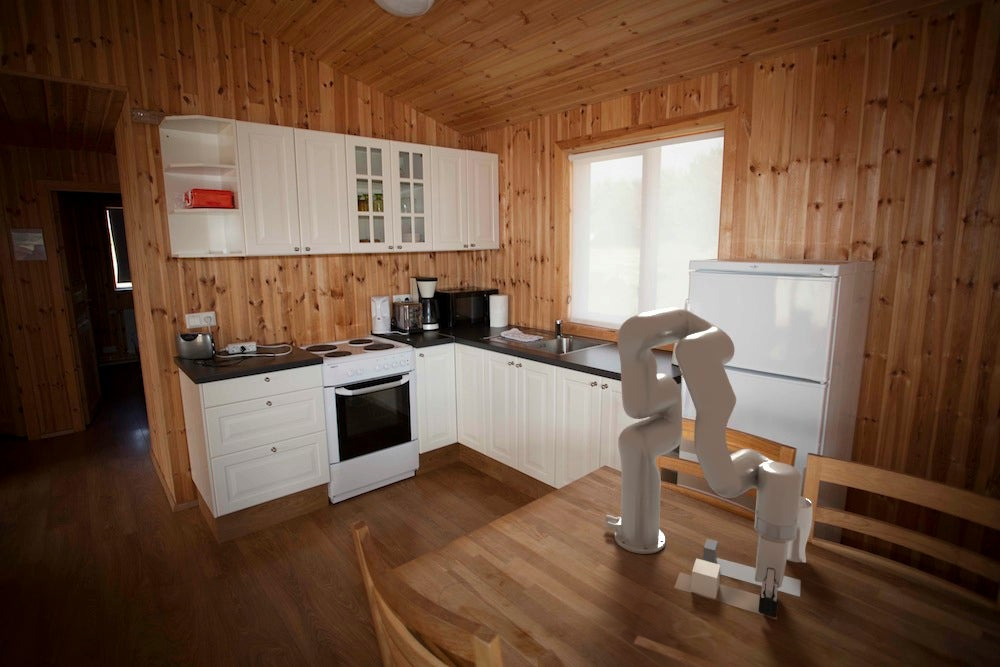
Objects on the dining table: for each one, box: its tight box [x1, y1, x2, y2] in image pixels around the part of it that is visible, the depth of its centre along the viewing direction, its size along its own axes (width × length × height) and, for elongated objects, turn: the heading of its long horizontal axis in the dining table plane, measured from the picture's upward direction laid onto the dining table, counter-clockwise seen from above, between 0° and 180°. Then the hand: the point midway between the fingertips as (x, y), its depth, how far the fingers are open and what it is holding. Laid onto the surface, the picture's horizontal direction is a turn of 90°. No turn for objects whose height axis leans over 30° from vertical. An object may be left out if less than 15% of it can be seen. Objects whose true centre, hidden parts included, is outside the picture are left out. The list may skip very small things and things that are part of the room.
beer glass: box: [786, 495, 813, 563], centre depth 124 cm, size 7×7×15 cm
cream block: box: [691, 557, 721, 599], centre depth 114 cm, size 5×5×5 cm
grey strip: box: [702, 538, 801, 597], centre depth 119 cm, size 20×6×6 cm, turn 60°
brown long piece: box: [673, 571, 779, 620], centre depth 113 cm, size 20×6×6 cm, turn 60°
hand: (769, 599), depth 108 cm, fingers open, 9 cm apart
